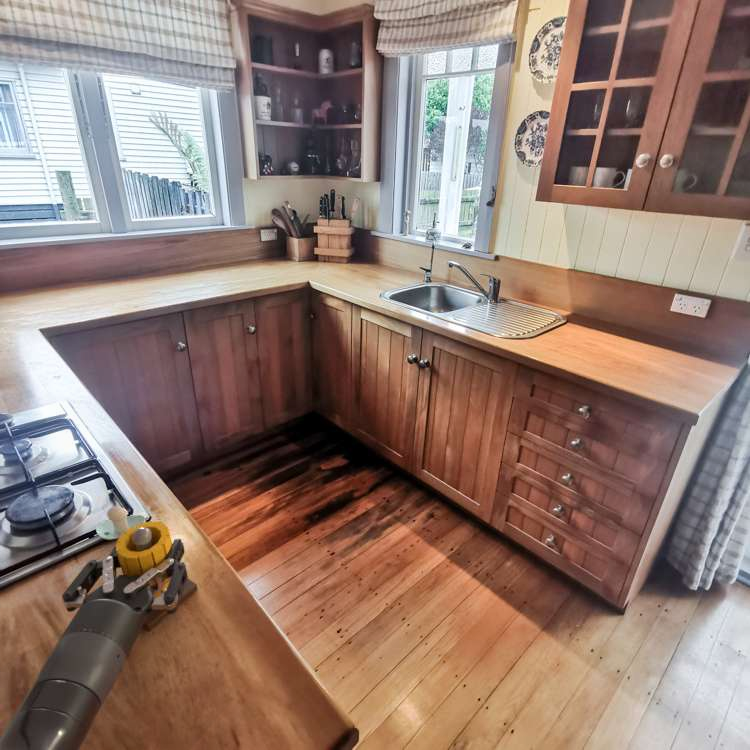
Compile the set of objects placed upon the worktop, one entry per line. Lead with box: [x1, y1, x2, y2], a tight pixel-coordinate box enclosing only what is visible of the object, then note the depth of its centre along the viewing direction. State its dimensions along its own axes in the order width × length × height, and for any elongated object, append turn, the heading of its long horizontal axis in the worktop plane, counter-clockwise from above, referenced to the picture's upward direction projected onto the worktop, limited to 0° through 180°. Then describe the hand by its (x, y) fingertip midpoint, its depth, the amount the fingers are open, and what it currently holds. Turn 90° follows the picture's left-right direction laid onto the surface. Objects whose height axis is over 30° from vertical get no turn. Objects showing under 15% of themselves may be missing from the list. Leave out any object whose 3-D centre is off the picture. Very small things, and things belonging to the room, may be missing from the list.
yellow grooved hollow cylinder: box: [115, 521, 173, 599], centre depth 65 cm, size 7×7×9 cm
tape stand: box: [132, 527, 199, 632], centre depth 65 cm, size 8×8×13 cm
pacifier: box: [95, 506, 146, 541], centre depth 78 cm, size 7×6×6 cm
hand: (153, 542), depth 67 cm, fingers closed on yellow grooved hollow cylinder, 6 cm apart
